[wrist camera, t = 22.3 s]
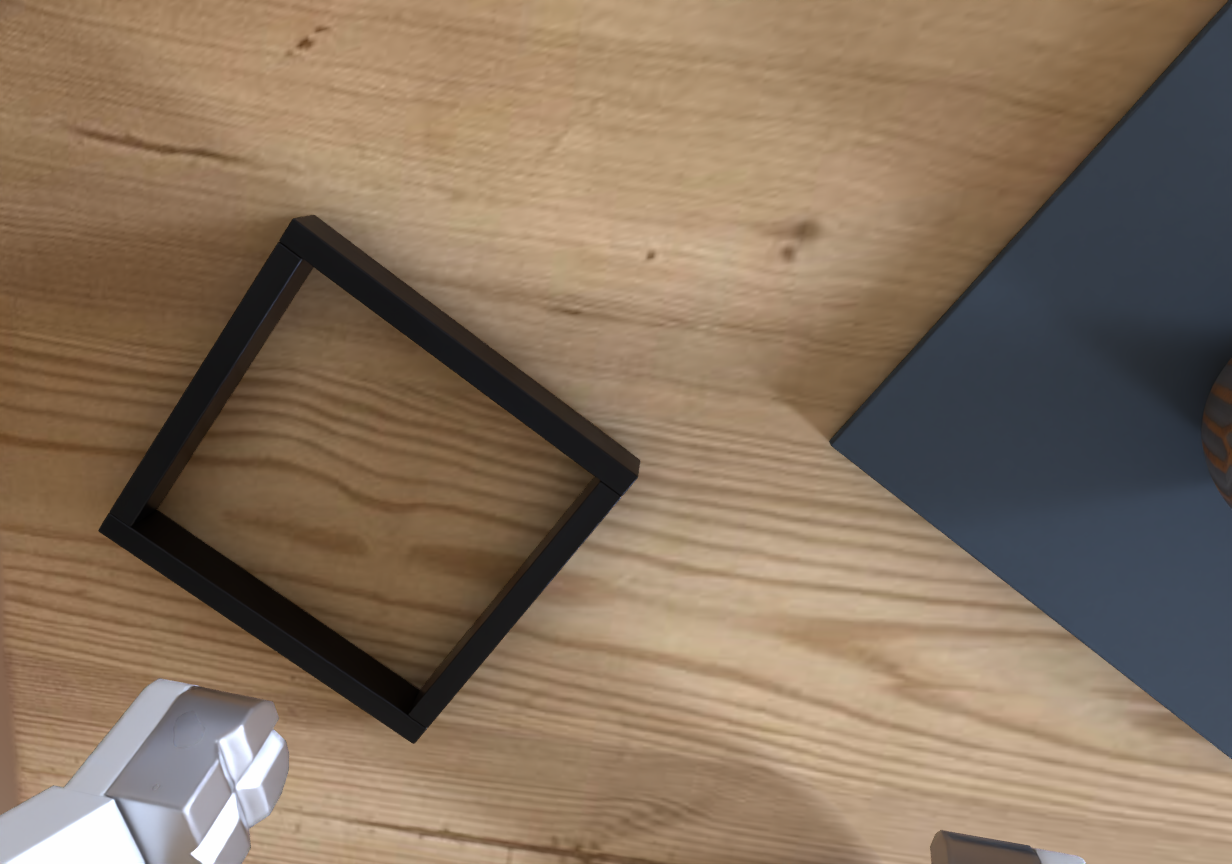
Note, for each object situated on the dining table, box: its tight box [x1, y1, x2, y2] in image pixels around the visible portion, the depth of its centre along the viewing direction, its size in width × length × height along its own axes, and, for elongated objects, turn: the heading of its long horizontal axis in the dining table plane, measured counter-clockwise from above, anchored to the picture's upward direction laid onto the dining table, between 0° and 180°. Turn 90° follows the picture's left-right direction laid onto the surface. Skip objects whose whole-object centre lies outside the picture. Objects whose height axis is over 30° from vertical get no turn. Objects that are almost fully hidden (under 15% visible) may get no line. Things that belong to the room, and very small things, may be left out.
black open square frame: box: [98, 215, 640, 744], centre depth 28 cm, size 12×12×2 cm
